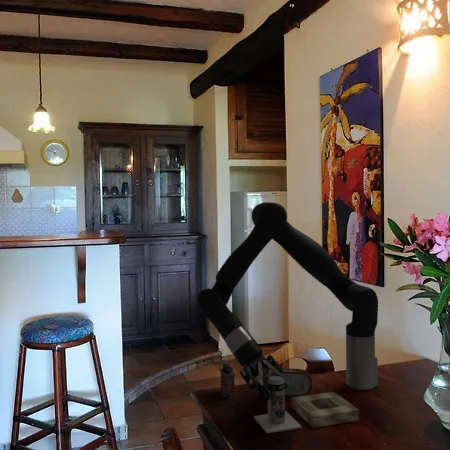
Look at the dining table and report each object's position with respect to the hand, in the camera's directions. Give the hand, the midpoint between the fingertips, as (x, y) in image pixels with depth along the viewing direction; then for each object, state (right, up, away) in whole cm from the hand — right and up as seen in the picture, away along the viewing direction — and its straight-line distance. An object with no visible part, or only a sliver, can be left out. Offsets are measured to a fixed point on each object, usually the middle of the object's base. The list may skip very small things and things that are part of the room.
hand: (277, 393), depth 135 cm
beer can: (0, -8, +1) cm, 8 cm away
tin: (+6, -8, +20) cm, 22 cm away
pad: (0, -8, +1) cm, 8 cm away
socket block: (+14, -8, +6) cm, 17 cm away
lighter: (-14, -8, +22) cm, 27 cm away
